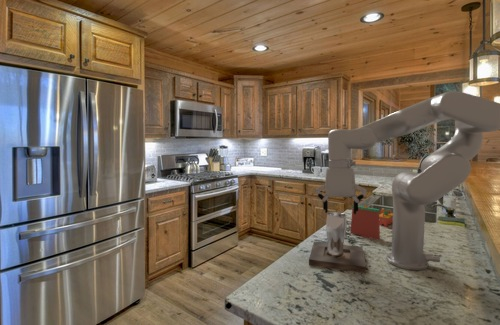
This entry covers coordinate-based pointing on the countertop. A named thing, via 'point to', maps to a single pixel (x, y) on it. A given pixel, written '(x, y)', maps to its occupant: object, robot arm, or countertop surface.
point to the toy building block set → (369, 221)
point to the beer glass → (336, 233)
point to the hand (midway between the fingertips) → (340, 212)
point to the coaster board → (349, 262)
